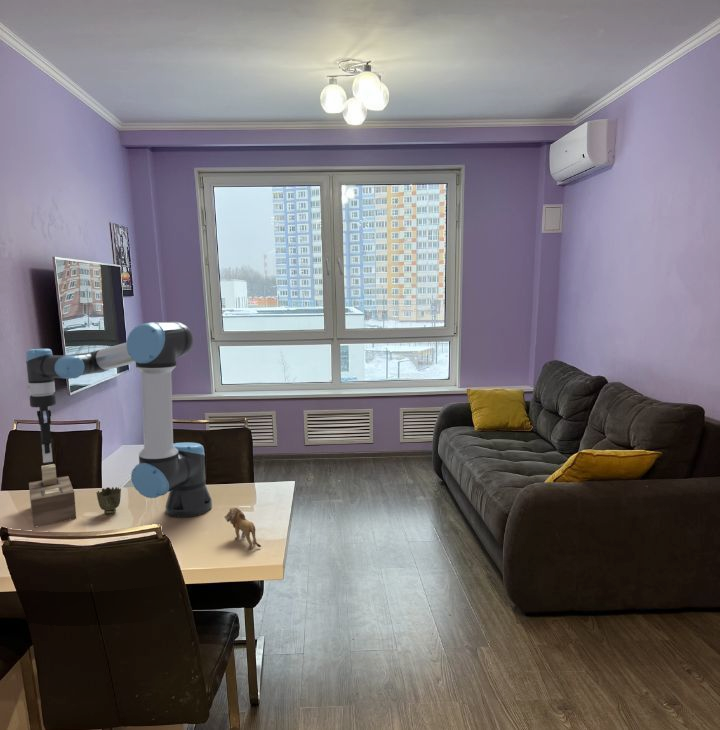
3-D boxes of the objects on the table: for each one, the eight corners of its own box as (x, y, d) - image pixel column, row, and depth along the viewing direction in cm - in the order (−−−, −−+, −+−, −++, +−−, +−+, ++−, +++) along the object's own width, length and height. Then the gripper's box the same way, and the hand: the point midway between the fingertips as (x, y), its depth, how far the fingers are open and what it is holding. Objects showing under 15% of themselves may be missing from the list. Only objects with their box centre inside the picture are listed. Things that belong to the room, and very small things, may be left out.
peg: (57, 489, 179) (55, 466, 178) (43, 491, 176) (42, 468, 175) (56, 485, 182) (54, 463, 181) (43, 488, 180) (41, 465, 179)
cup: (110, 519, 170) (108, 495, 169) (93, 516, 173) (91, 493, 172) (127, 510, 177) (125, 488, 176) (110, 507, 180) (108, 485, 179)
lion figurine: (223, 537, 156) (221, 508, 155) (237, 531, 160) (236, 503, 159) (253, 552, 147) (252, 521, 146) (268, 545, 151) (267, 515, 150)
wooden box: (76, 518, 171) (74, 491, 170) (33, 527, 164) (31, 499, 163) (70, 499, 187) (68, 475, 186) (31, 507, 181) (28, 481, 180)
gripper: (28, 392, 178) (34, 459, 181) (30, 398, 168) (36, 468, 170) (53, 390, 183) (58, 455, 185) (56, 395, 172) (62, 464, 175)
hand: (47, 461), depth 178 cm, fingers closed
